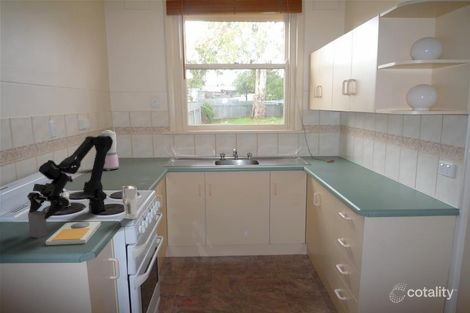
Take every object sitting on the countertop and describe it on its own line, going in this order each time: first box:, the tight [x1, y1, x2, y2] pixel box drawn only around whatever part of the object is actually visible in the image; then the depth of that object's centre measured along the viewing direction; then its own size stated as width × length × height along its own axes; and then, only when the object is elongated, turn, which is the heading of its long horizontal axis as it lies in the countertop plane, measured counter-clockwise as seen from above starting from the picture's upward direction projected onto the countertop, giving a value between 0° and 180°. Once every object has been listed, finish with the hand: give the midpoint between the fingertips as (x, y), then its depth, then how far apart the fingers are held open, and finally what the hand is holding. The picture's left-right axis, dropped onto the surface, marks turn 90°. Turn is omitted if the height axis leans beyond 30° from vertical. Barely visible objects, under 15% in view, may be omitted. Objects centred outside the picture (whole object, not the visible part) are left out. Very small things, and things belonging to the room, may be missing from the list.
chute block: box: [27, 210, 49, 239], centre depth 139 cm, size 4×5×10 cm
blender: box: [98, 129, 120, 172], centre depth 269 cm, size 16×12×32 cm
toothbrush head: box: [60, 190, 72, 208], centre depth 185 cm, size 5×7×25 cm
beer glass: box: [121, 185, 138, 221], centre depth 159 cm, size 7×7×15 cm
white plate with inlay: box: [45, 221, 102, 246], centre depth 140 cm, size 20×15×2 cm
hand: (37, 217), depth 138 cm, fingers open, 9 cm apart
